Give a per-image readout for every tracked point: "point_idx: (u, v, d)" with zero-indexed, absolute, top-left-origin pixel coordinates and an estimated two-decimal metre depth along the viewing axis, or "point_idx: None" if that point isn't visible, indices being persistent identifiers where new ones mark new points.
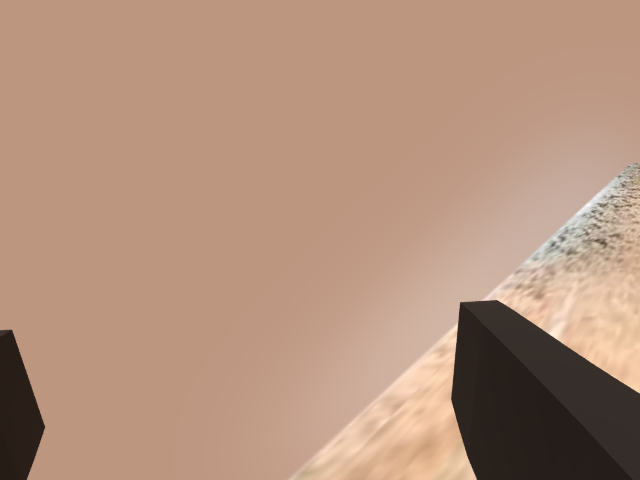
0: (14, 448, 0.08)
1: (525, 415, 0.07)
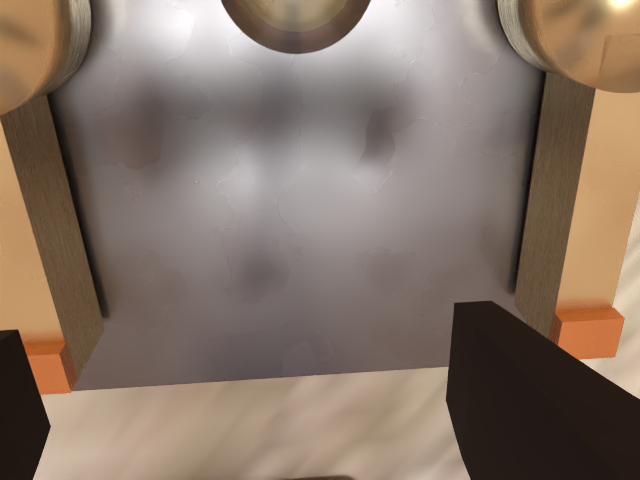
0: (20, 447, 0.08)
1: (517, 416, 0.07)
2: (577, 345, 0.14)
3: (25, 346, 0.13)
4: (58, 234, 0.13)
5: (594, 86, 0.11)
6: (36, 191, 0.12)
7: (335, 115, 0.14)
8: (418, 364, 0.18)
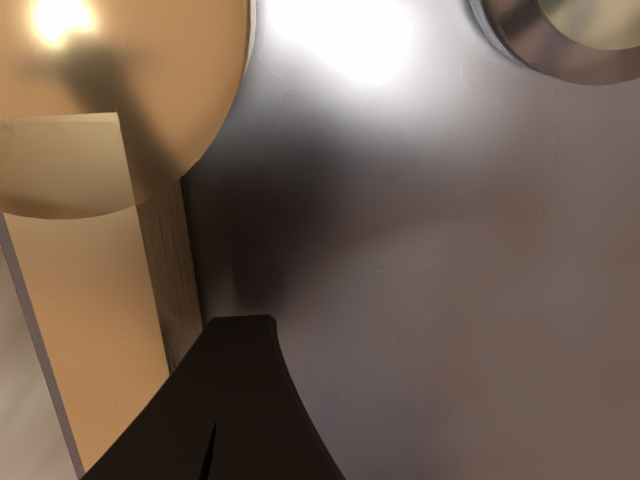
0: None
1: None
2: None
3: None
4: None
5: None
6: (172, 312, 0.08)
7: (601, 172, 0.09)
8: None
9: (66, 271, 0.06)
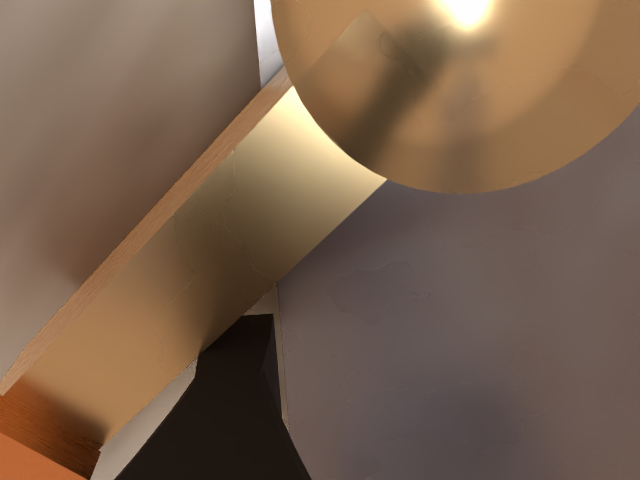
0: None
1: None
2: None
3: (38, 423, 0.07)
4: None
5: None
6: None
7: None
8: None
9: (278, 171, 0.06)
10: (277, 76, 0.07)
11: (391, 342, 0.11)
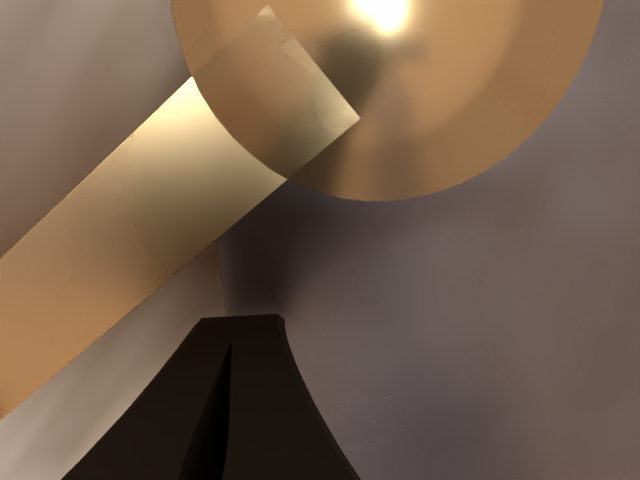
0: None
1: None
2: None
3: None
4: None
5: None
6: None
7: None
8: None
9: (175, 162, 0.06)
10: None
11: (340, 347, 0.11)
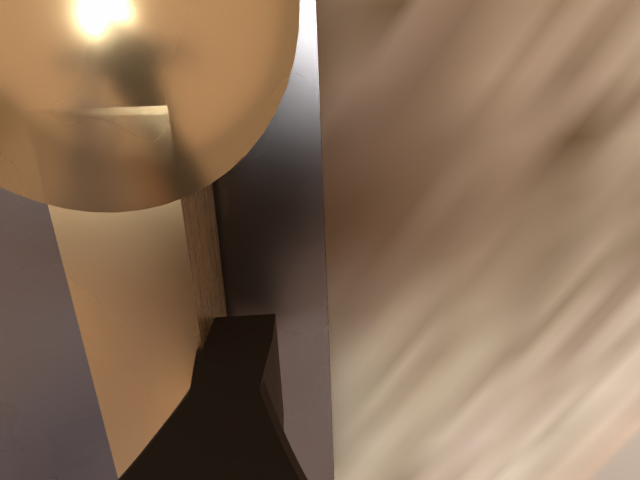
0: None
1: None
2: None
3: None
4: None
5: (39, 201, 0.06)
6: None
7: None
8: None
9: None
10: None
11: None
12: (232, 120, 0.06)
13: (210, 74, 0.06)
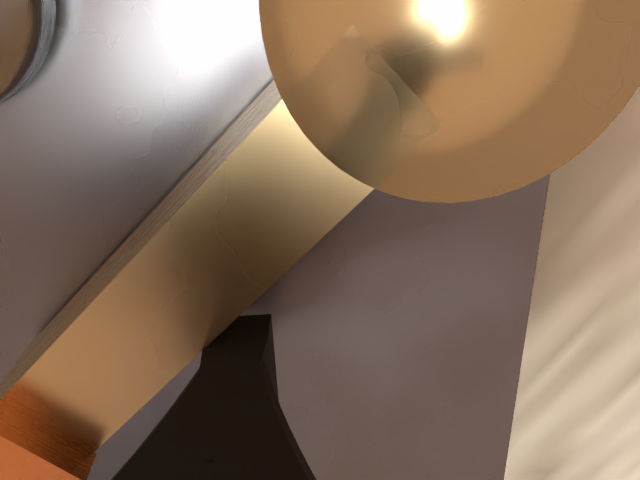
0: None
1: None
2: None
3: None
4: None
5: (281, 92, 0.06)
6: None
7: (48, 209, 0.09)
8: None
9: None
10: None
11: None
12: (466, 174, 0.06)
13: (490, 135, 0.06)
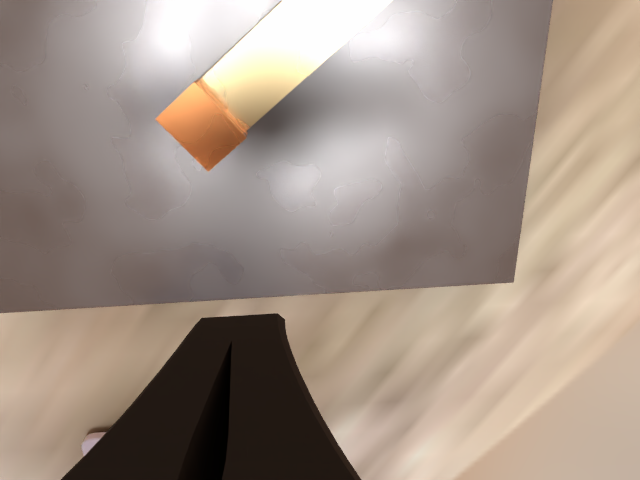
0: None
1: None
2: (187, 124, 0.12)
3: None
4: None
5: None
6: None
7: (223, 14, 0.14)
8: (331, 288, 0.17)
9: None
10: None
11: None
12: None
13: None
